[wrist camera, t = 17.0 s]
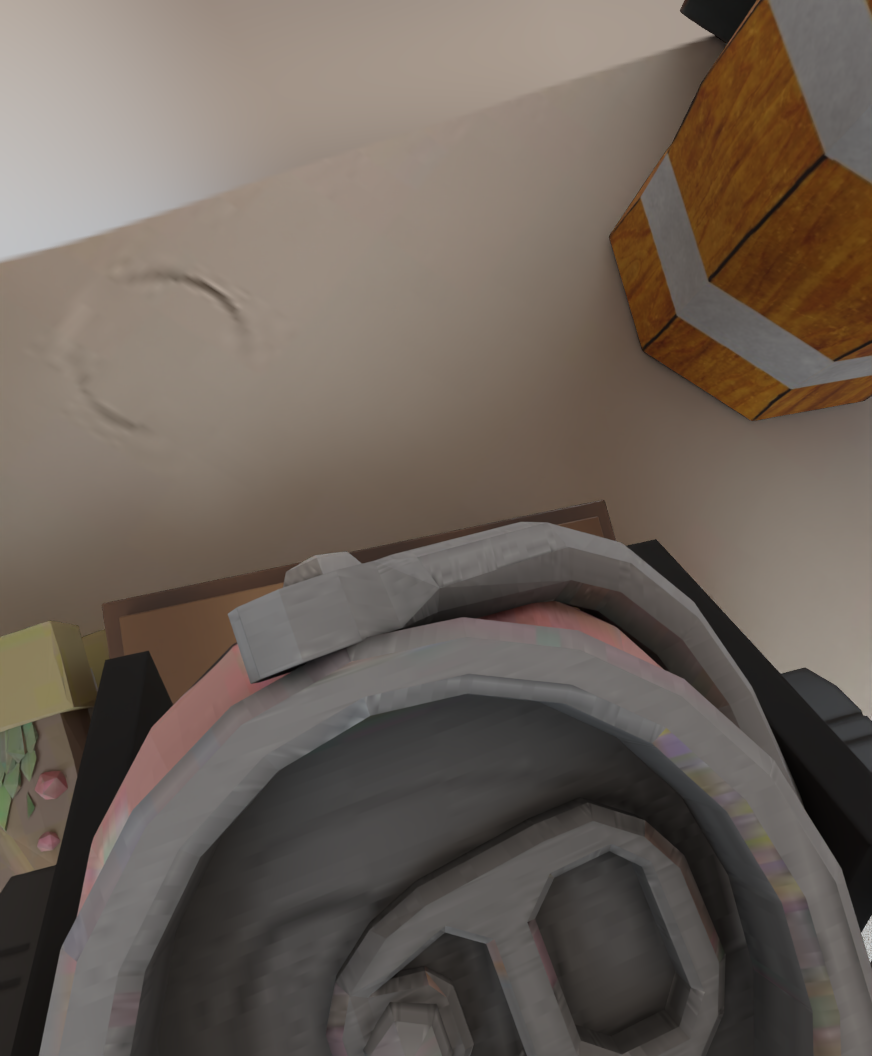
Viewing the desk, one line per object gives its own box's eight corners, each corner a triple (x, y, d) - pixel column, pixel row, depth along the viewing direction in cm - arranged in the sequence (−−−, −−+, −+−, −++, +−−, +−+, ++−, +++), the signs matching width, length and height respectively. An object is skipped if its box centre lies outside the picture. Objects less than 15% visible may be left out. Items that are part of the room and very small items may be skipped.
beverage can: (520, 560, 18) (813, 364, 7) (645, 866, 17) (1287, 1304, 5) (184, 685, 17) (-227, 726, 5) (294, 1037, 15) (93, 2238, 4)
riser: (222, 1001, 20) (168, 1134, 15) (162, 618, 23) (94, 601, 17) (640, 873, 23) (738, 945, 17) (550, 535, 25) (610, 495, 19)
